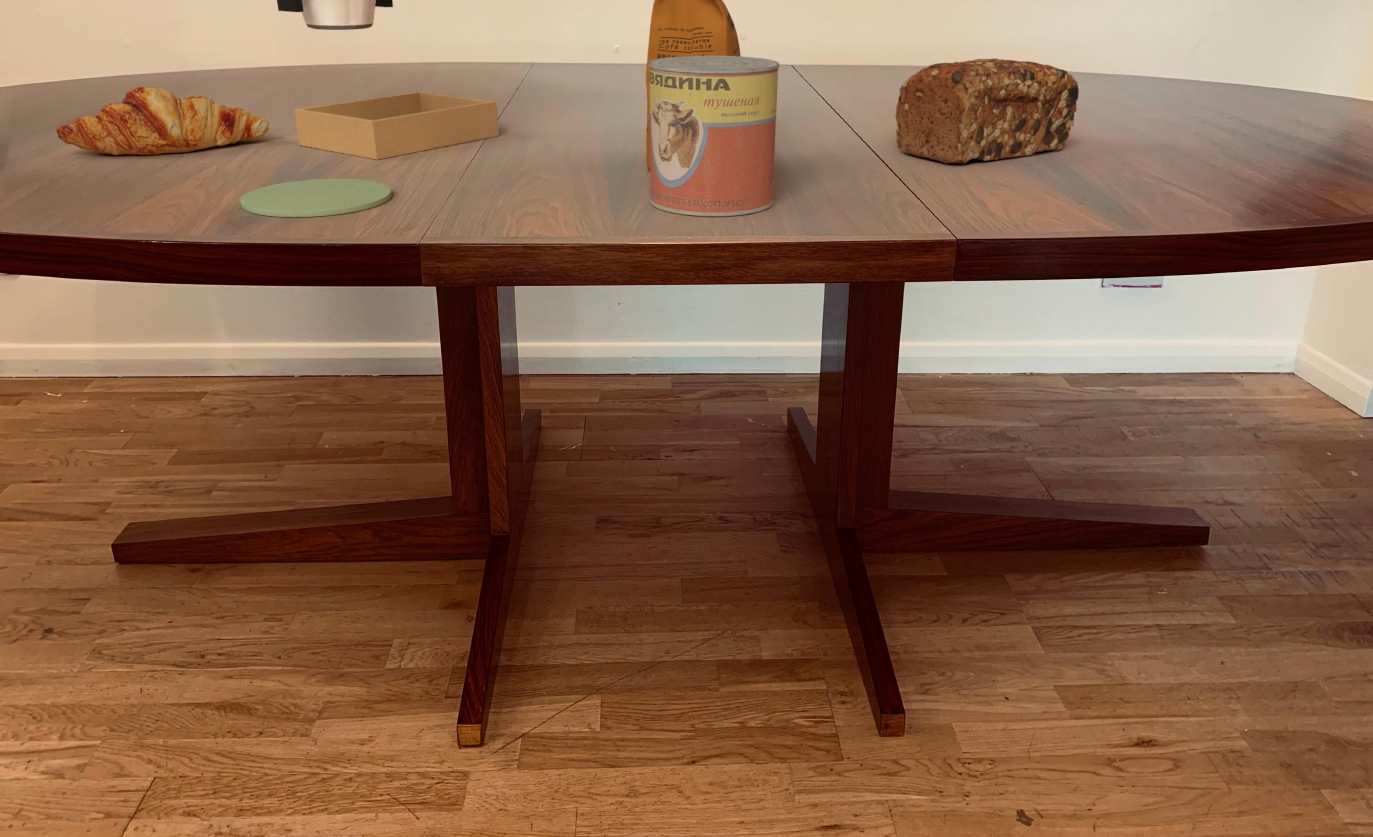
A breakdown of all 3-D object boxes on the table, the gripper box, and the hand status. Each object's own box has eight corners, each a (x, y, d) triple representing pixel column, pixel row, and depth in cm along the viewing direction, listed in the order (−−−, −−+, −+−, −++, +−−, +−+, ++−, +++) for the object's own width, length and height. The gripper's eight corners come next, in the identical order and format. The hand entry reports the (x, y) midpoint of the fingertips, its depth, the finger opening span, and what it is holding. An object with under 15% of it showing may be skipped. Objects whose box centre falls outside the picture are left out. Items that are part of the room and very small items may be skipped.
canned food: (623, 201, 92) (621, 62, 86) (704, 182, 99) (706, 52, 94) (719, 223, 85) (722, 73, 80) (798, 200, 93) (805, 62, 87)
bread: (957, 169, 106) (969, 68, 101) (887, 152, 114) (895, 58, 109) (1074, 151, 115) (1090, 58, 110) (1001, 136, 123) (1013, 49, 119)
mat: (210, 202, 90) (209, 197, 90) (332, 177, 100) (332, 172, 100) (299, 225, 84) (298, 219, 83) (421, 196, 93) (420, 190, 93)
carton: (299, 145, 115) (293, 109, 114) (422, 124, 129) (419, 91, 127) (376, 159, 108) (372, 121, 106) (499, 135, 122) (496, 101, 120)
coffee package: (751, 154, 112) (758, -66, 102) (729, 178, 101) (735, -66, 91) (664, 150, 114) (663, -67, 104) (633, 172, 103) (629, -67, 94)
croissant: (271, 165, 121) (257, 100, 121) (279, 137, 112) (263, 66, 112) (68, 179, 112) (52, 109, 111) (59, 149, 103) (42, 72, 103)
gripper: (210, -296, 78) (258, 16, 87) (430, -252, 94) (451, 5, 104) (155, -286, 81) (208, 12, 91) (377, -246, 98) (401, 2, 108)
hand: (337, 8), depth 97 cm, fingers closed on cup, 10 cm apart
